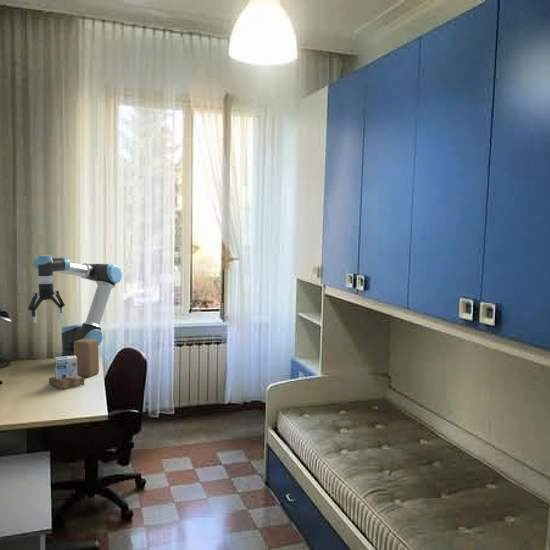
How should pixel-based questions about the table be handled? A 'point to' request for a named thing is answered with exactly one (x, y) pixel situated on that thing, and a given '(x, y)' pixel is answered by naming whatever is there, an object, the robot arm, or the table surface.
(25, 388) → the table surface
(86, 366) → the wooden block
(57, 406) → the table surface
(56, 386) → the brown open tray
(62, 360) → the light bulb box
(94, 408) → the table surface
